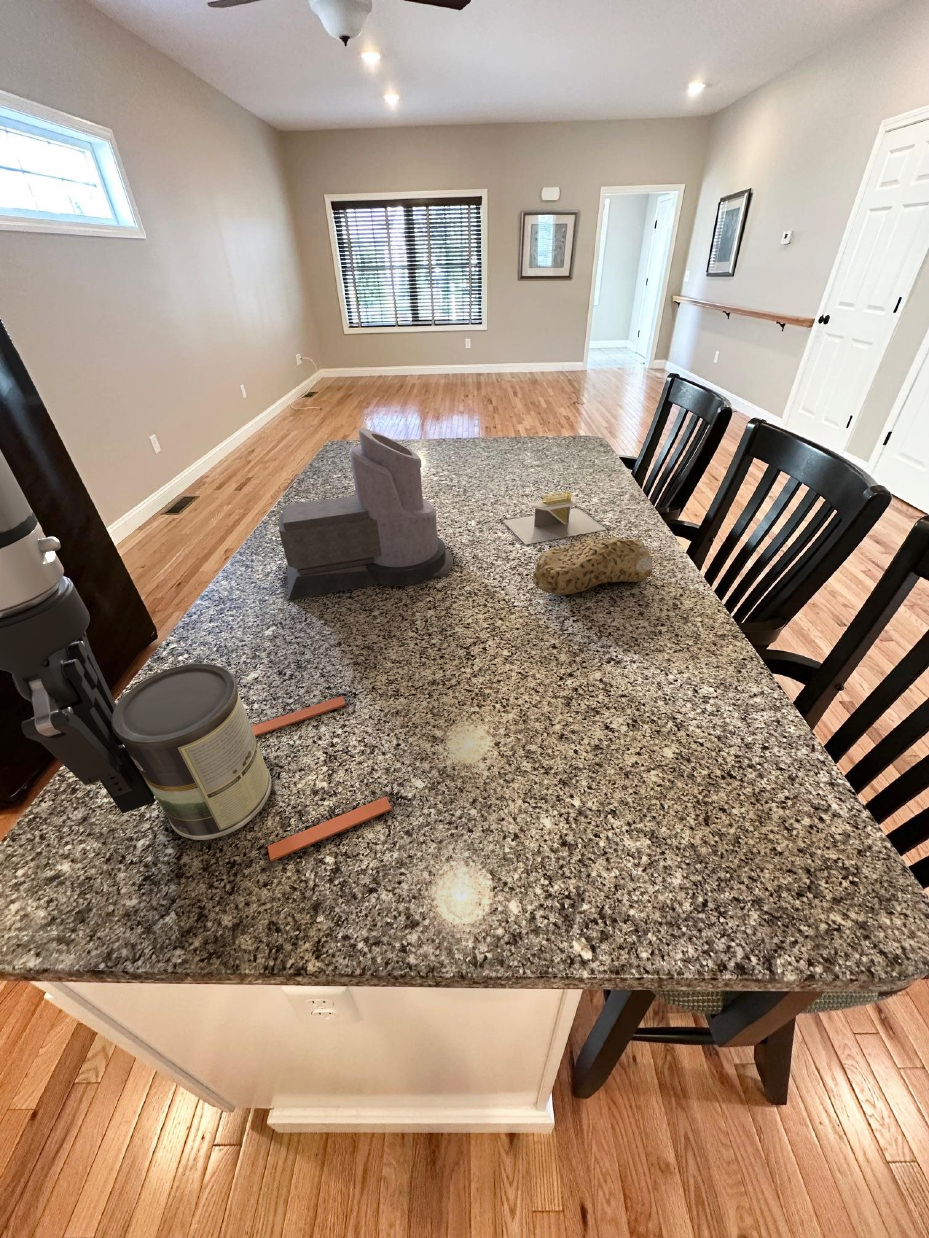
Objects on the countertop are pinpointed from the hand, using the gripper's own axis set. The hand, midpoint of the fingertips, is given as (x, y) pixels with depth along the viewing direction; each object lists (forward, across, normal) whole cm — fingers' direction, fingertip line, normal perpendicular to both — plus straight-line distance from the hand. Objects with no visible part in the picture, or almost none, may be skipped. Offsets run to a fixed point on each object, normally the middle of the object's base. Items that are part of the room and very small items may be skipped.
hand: (138, 801), depth 49 cm
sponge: (+4, +17, -67) cm, 69 cm away
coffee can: (+4, +1, -6) cm, 8 cm away
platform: (+4, +39, -75) cm, 84 cm away
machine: (+4, +40, -36) cm, 54 cm away
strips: (+4, 0, -16) cm, 16 cm away
